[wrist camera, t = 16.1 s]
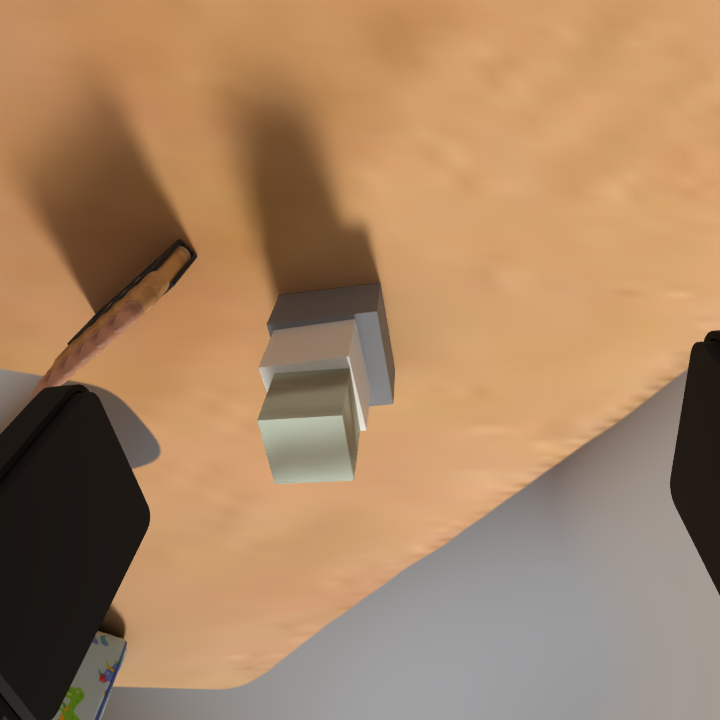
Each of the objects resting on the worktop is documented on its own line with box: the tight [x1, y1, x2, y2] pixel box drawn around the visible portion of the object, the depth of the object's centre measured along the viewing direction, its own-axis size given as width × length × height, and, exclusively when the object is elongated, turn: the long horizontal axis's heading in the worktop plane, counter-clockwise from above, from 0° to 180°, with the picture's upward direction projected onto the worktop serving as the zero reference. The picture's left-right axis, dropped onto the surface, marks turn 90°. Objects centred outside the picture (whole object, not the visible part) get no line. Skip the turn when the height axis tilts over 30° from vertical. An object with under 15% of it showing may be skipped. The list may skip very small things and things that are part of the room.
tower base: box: [267, 283, 395, 406], centre depth 47 cm, size 8×8×5 cm
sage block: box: [257, 368, 360, 484], centre depth 38 cm, size 5×5×5 cm
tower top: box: [259, 319, 371, 431], centre depth 42 cm, size 6×6×5 cm
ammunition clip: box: [31, 239, 197, 401], centre depth 42 cm, size 11×2×12 cm, turn 130°
